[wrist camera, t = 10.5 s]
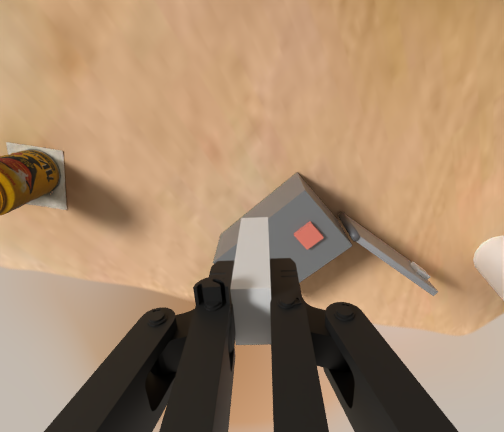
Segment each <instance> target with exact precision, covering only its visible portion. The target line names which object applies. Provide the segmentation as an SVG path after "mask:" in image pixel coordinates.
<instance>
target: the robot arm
mask: <svg viewBox="0 0 504 432" xmlns="http://www.w3.org/2000/svg"><path fill="white" fill-rule="evenodd" d="M193 289H194V295H195V302H196V307H195V309H193V310H191V311H189V312H186V313H183V314H179V315H175V313H174V312H173V311H172V310H171V309H168V308H156V309H152V310H150V311H148V312H146V313H145V314H144V315H143V316H142V317H141V318H140V319H139V320H138V321H137V323H136V324H135V325H134V326H133V327H132V329H131V330H130V331H129V332H128V333H127V334H126V336H125V337H124V338H123V339H122V340H121V342H120V343H119V344H118V345H117V346H116V347H115V349H114V350H113V351H112V352H111V353H110V354H109V356H108V357H107V358H106V359H105V360H104V362H103V363H102V364H101V365H100V366H99V368H98V369H97V370H96V371H95V372H94V373H93V374H92V376H91V377H90V378H89V379H88V380H87V382H86V383H85V384H84V385H83V386H82V387H81V389H80V390H79V391H78V392H77V393H76V395H75V396H74V397H73V398H72V399H71V400H70V402H69V403H68V404H67V405H66V406H65V408H64V409H63V410H62V411H61V412H60V413H59V415H58V416H57V417H56V418H55V419H54V420H53V422H52V423H51V424H50V425H49V426H48V428H47V429H46V430H45V431H44V432H152V431H153V429H154V428H155V426H156V424H157V422H158V420H159V418H160V417H161V415H162V413H163V411H164V409H165V407H166V406H167V407H166V411H165V414H164V417H163V421H162V424H161V428H160V431H159V432H228V427H229V416H230V406H231V405H230V404H231V395H232V384H233V374H234V364H235V349H234V344H235V342H236V345H257V344H258V345H259V344H261V345H262V344H271V351H272V386H273V420H274V432H329V430H328V424H327V419H326V413H325V408H324V403H323V397H322V392H321V386H320V381H319V376H318V370H317V366H321V367H323V368H324V372H325V374H326V376H327V378H328V380H329V381H330V384H331V386H332V388H333V389H334V391H335V394H336V396H337V398H338V400H339V402H340V404H341V405H342V407H343V409H344V411H345V414H346V416H347V417H348V420H349V422H350V423H351V425H352V427H353V429H354V431H355V432H458V431H457V429H456V428H455V427H454V426H453V424H452V423H451V422H450V421H449V420H448V418H447V417H446V416H445V414H444V413H443V412H442V411H441V409H440V408H439V407H438V406H437V404H436V403H435V402H434V401H433V399H432V398H431V397H430V396H429V394H428V393H427V392H426V391H425V390H424V388H423V387H422V386H421V384H420V383H419V382H418V381H417V380H416V378H415V377H414V376H413V374H412V373H411V372H410V371H409V369H408V368H407V367H406V366H405V364H404V363H403V362H402V361H401V359H400V358H399V357H398V356H397V354H396V353H395V352H394V351H393V350H392V348H391V347H390V346H389V344H388V343H387V342H386V341H385V339H384V338H383V337H382V336H381V335H380V333H379V332H378V331H377V329H376V328H375V327H374V326H373V324H372V323H371V322H370V321H369V319H368V318H367V317H366V316H365V314H364V313H363V312H362V311H361V310H360V309H359V308H358V307H357V306H355V305H352V304H350V303H345V302H336V303H333V304H330V305H329V306H328V307H327V308H326V310H322V309H318V308H314V307H312V306H310V305H308V304H307V303H306V302H305V301H304V299H303V298H302V295H301V290H300V284H299V279H298V273H297V267H296V263H295V262H294V261H293V260H292V259H291V258H271V259H270V256H269V231H268V217H255V218H241V223H240V229H239V236H238V242H237V249H236V255H235V260H232V261H217V262H216V263H215V264H214V265H213V266H212V267H211V270H210V275H209V278H205V279H202V280H200V281H199V282H197V283H196V284H195V286H194V287H193Z"/></svg>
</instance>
